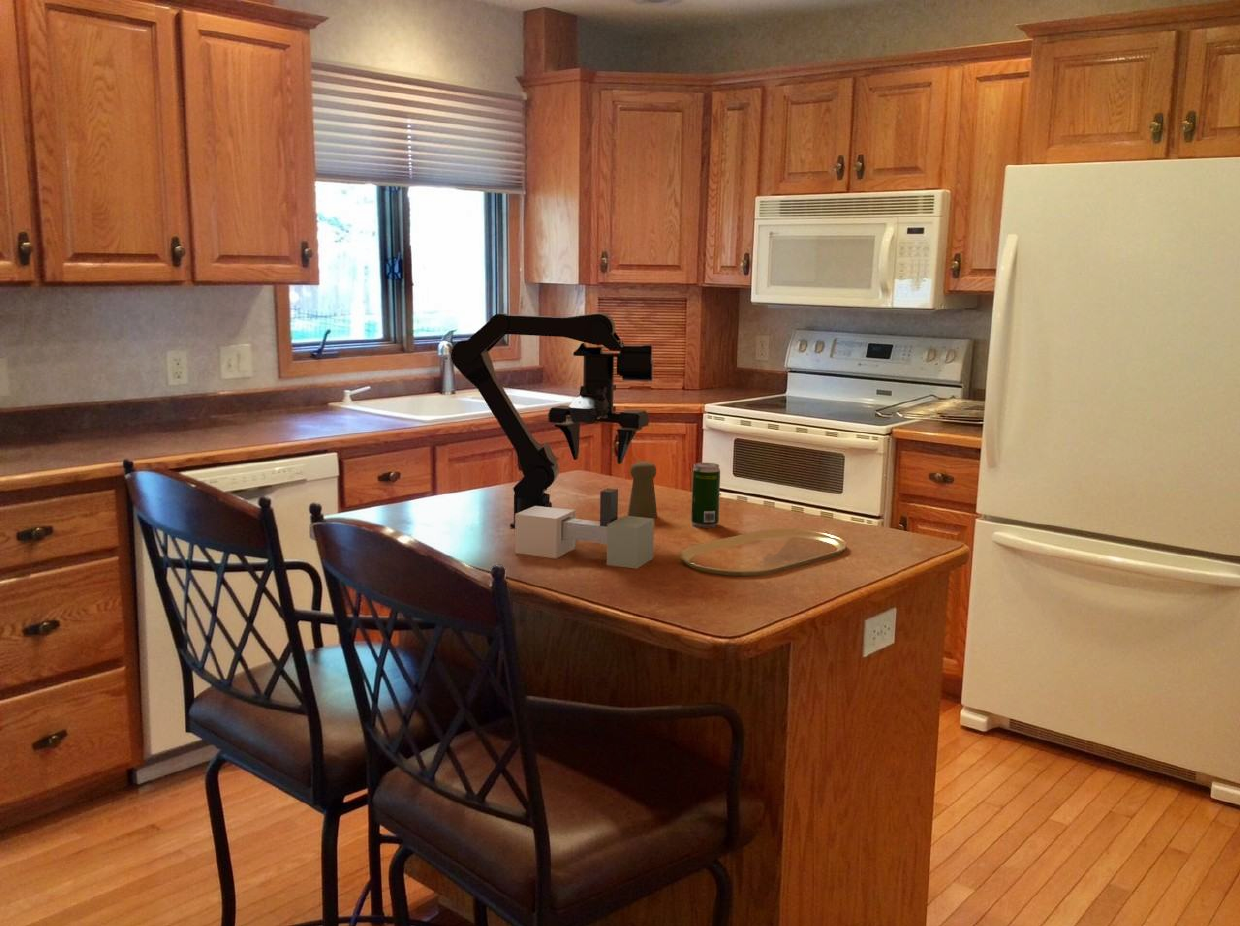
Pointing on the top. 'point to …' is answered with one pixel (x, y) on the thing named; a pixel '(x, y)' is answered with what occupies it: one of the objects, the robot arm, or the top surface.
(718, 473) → the beer can
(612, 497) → the grey bridging bar
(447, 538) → the top surface
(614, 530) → the socket block
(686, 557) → the serving platter
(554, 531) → the sleeve
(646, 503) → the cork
